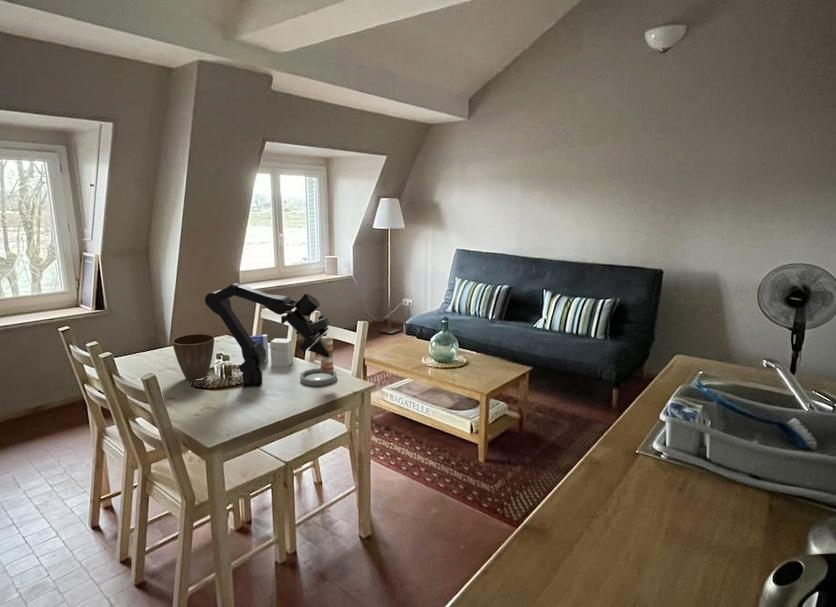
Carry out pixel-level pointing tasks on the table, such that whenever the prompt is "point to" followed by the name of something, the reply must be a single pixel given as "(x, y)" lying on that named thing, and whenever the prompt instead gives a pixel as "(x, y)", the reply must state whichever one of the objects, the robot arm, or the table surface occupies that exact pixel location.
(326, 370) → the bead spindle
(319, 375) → the round tray
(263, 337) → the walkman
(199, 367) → the plant pot
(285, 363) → the small box
